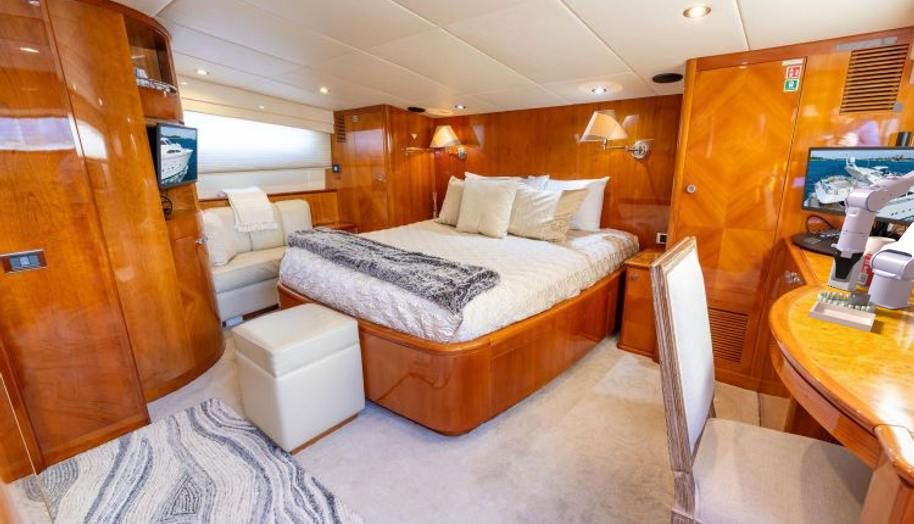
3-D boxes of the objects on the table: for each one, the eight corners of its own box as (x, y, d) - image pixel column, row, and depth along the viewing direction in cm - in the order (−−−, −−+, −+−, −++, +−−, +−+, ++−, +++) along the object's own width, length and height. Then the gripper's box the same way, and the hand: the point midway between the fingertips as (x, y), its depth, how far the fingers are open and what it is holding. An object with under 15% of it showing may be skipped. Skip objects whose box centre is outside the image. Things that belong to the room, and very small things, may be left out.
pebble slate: (836, 277, 116) (841, 263, 115) (852, 281, 112) (857, 267, 111) (827, 278, 115) (831, 264, 114) (843, 283, 111) (848, 268, 110)
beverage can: (886, 291, 128) (898, 256, 124) (863, 289, 129) (875, 255, 125) (870, 284, 134) (882, 251, 130) (849, 283, 135) (860, 250, 131)
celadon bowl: (819, 296, 122) (821, 288, 122) (875, 308, 113) (878, 300, 113) (812, 306, 115) (814, 297, 114) (872, 319, 106) (875, 311, 105)
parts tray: (814, 307, 113) (816, 300, 113) (873, 321, 105) (875, 314, 104) (807, 318, 106) (809, 311, 106) (869, 334, 98) (872, 326, 97)
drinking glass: (887, 282, 137) (902, 241, 132) (868, 281, 137) (882, 240, 132) (868, 275, 143) (881, 236, 139) (850, 275, 143) (862, 236, 139)
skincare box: (855, 290, 128) (867, 255, 125) (846, 291, 127) (858, 256, 123) (834, 284, 134) (844, 250, 130) (825, 285, 132) (835, 251, 129)
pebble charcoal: (852, 304, 115) (856, 290, 113) (869, 309, 111) (874, 295, 110) (843, 306, 113) (847, 291, 112) (860, 311, 110) (865, 296, 108)
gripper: (839, 226, 117) (827, 268, 121) (832, 232, 108) (818, 278, 112) (873, 230, 112) (858, 274, 116) (868, 237, 103) (852, 284, 107)
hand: (841, 276), depth 113 cm, fingers closed on pebble slate, 4 cm apart
